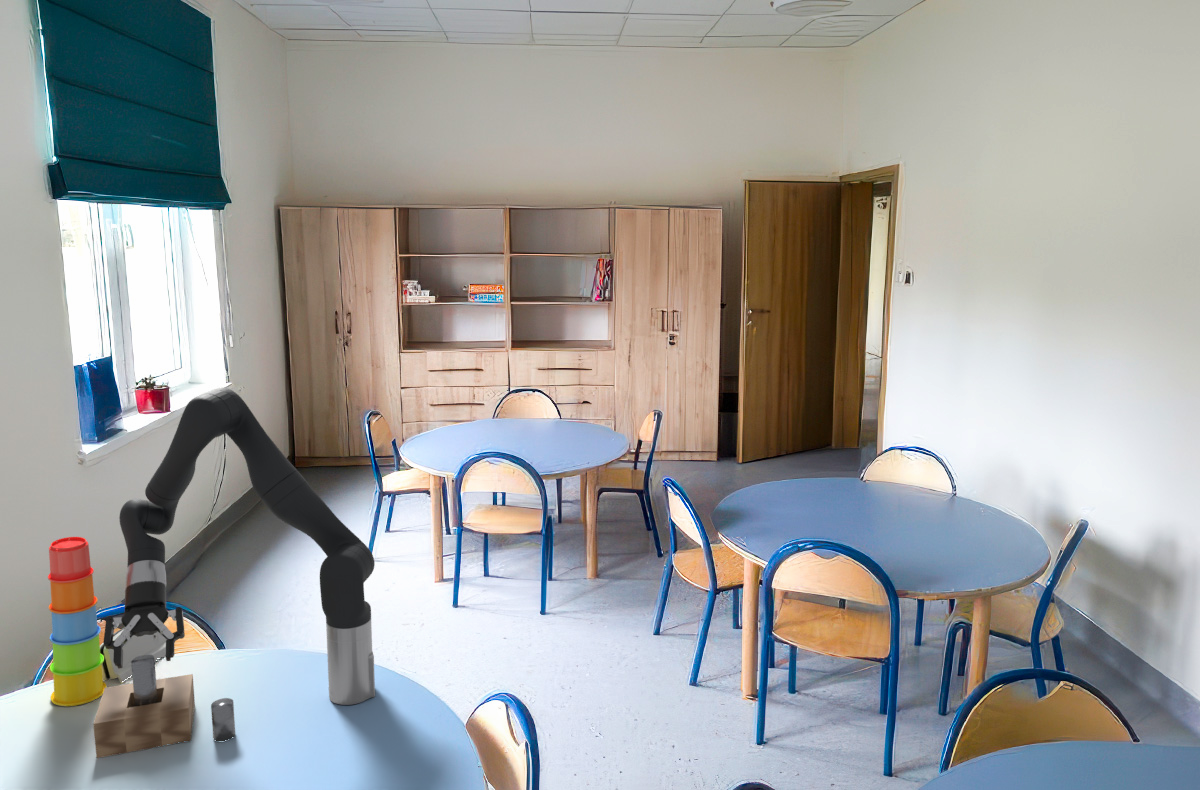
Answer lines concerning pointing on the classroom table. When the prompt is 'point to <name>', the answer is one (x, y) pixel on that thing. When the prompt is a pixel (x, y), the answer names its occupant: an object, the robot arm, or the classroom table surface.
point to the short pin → (223, 719)
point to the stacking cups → (74, 625)
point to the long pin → (144, 680)
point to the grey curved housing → (131, 654)
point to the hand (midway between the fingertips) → (144, 663)
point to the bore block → (144, 717)
